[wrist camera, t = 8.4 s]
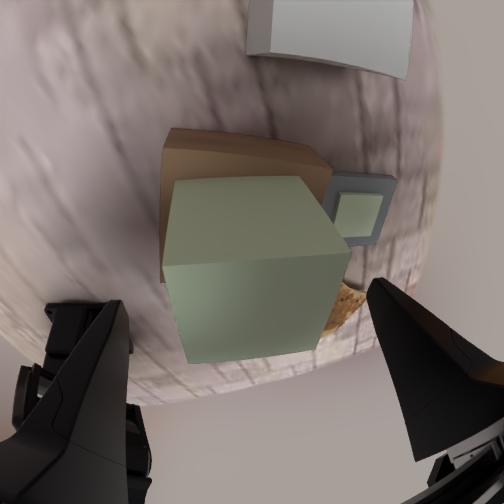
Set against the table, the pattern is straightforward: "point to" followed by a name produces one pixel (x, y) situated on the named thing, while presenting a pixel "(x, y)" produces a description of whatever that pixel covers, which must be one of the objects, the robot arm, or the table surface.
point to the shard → (343, 307)
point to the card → (358, 205)
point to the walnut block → (233, 164)
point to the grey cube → (334, 33)
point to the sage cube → (250, 267)
